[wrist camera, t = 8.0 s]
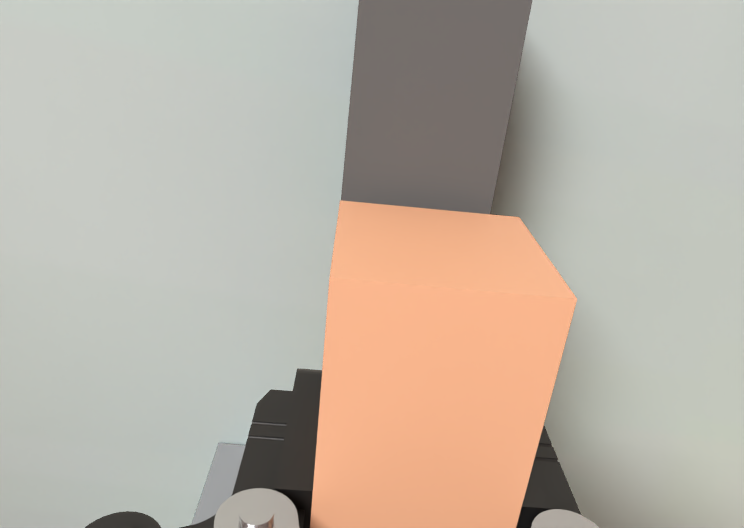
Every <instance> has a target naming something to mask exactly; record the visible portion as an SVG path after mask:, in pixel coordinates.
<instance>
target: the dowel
mask: <svg viewBox="0 0 744 528" xmlns="http://www.w3.org/2000/svg"><path fill="white" fill-rule="evenodd" d="M576 302H577V298H576V297H575V295H574V294H573V292H572V291H571V290H570V288H569V287H568V285H567V284H566V283H565V281H564V280H563V278H562V277H561V275H560V274H559V273H558V271H557V270H556V268H555V267H554V266H553V264H552V263H551V261H550V260H549V258H548V257H547V256H546V254H545V253H544V251H543V250H542V249H541V247H540V246H539V244H538V243H537V241H536V240H535V239H534V237H533V236H532V234H531V233H530V232H529V230H528V229H527V227H526V226H525V224H524V223H523V222H522V220H521V219H520V217H513V216H502V215H491V214H480V213H470V212H459V211H448V210H438V209H427V208H416V207H405V206H395V205H384V204H373V203H363V202H352V201H341V200H340V205H339V213H338V220H337V227H336V235H335V242H334V249H333V256H332V264H331V271H330V279H329V292H328V304H327V317H326V330H325V342H324V355H323V368H322V381H321V393H320V406H319V419H318V431H317V444H316V457H315V470H314V482H313V495H312V508H311V520H310V528H516V526H517V522H518V519H519V515H520V511H521V507H522V504H523V500H524V496H525V493H526V489H527V485H528V481H529V478H530V474H531V470H532V466H533V463H534V459H535V455H536V451H537V448H538V444H539V440H540V436H541V433H542V429H543V425H544V421H545V418H546V414H547V410H548V406H549V403H550V399H551V395H552V391H553V388H554V384H555V380H556V376H557V373H558V369H559V365H560V362H561V358H562V354H563V350H564V347H565V343H566V339H567V335H568V332H569V328H570V324H571V320H572V317H573V313H574V309H575V305H576Z"/></svg>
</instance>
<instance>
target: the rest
mask: <svg viewBox="0 0 744 528" xmlns="http://www.w3.org/2000/svg"><path fill="white" fill-rule="evenodd" d="M531 4H532V0H359V6H358V18H357V29H356V40H355V51H354V62H353V73H352V84H351V95H350V106H349V117H348V128H347V140H346V151H345V162H344V173H343V184H342V195H341V201H352V202H363V203H373V204H384V205H395V206H405V207H416V208H427V209H438V210H448V211H459V212H470V213H480V214H490V212H491V207H492V202H493V197H494V192H495V187H496V182H497V177H498V172H499V167H500V162H501V156H502V151H503V146H504V141H505V136H506V131H507V126H508V121H509V116H510V111H511V106H512V101H513V96H514V91H515V85H516V80H517V75H518V70H519V65H520V60H521V55H522V50H523V45H524V40H525V35H526V30H527V25H528V20H529V15H530V9H531Z"/></svg>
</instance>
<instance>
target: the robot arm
mask: <svg viewBox="0 0 744 528" xmlns="http://www.w3.org/2000/svg"><path fill="white" fill-rule="evenodd" d="M321 381H322V370H310V369H297V372H296V378H295V383H294V388H293V391H282V390H270V391H269V392H268V393H267V394H266V395H265V396H264V397H263V398H262V399H261V400H260V401H259V402H258V403H257V406H256V409H255V413H254V417H253V420H252V424H251V428H250V431H249V435H248V439H247V442H246V446H245V450H244V453H243V457H242V460H241V464H240V468H239V471H238V475H237V479H236V482H235V486H234V490H233V493H232V495H231V497H229V498H228V499H227V500H226V501H224V503H223V504H222V505H221V506H220V507H219V509H218V511H217V513H216V514H215V515H214V516H212V517H210V518H209V519H207V520H205V521H202V522H200V523H197V524H194V525H190V526H186V527H181V528H310V520H311V508H312V495H313V482H314V470H315V457H316V444H317V431H318V419H319V406H320V393H321ZM557 459H558V458H557V456H556V453H555V451H554V449H553V447H551V441H550V439H549V437H548V434H547V432H546V429H545V427H544V426H543V429H542V433H541V436H540V440H539V444H538V448H537V451H536V455H535V459H534V463H533V466H532V470H531V474H530V478H529V481H528V485H527V489H526V493H525V496H524V500H523V504H522V507H521V511H520V515H519V519H518V522H517V526H516V528H600V527H598V526H597V525H596V524H595V523H594V522H592V521H591V520H589V519H588V518H586V517H584V516H582V515H581V514H580V511H579V509H578V506H577V504H576V502H575V499H574V497H573V494H572V492H571V490H570V487H569V485H568V482H567V480H566V478H565V475H564V473H563V470H562V468H561V466H560V463H559V462H558V461H557ZM85 528H161V527H160V525H159V524H158V522H157V521H155V520H154V519H153V518H151V517H150V516H148V515H145V514H143V513H138V512H118V513H114V514H110V515H107V516H104V517H102V518H100V519H97V520H95V521H94V522H92V523H91V524H89V525H88V526H86V527H85Z"/></svg>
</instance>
